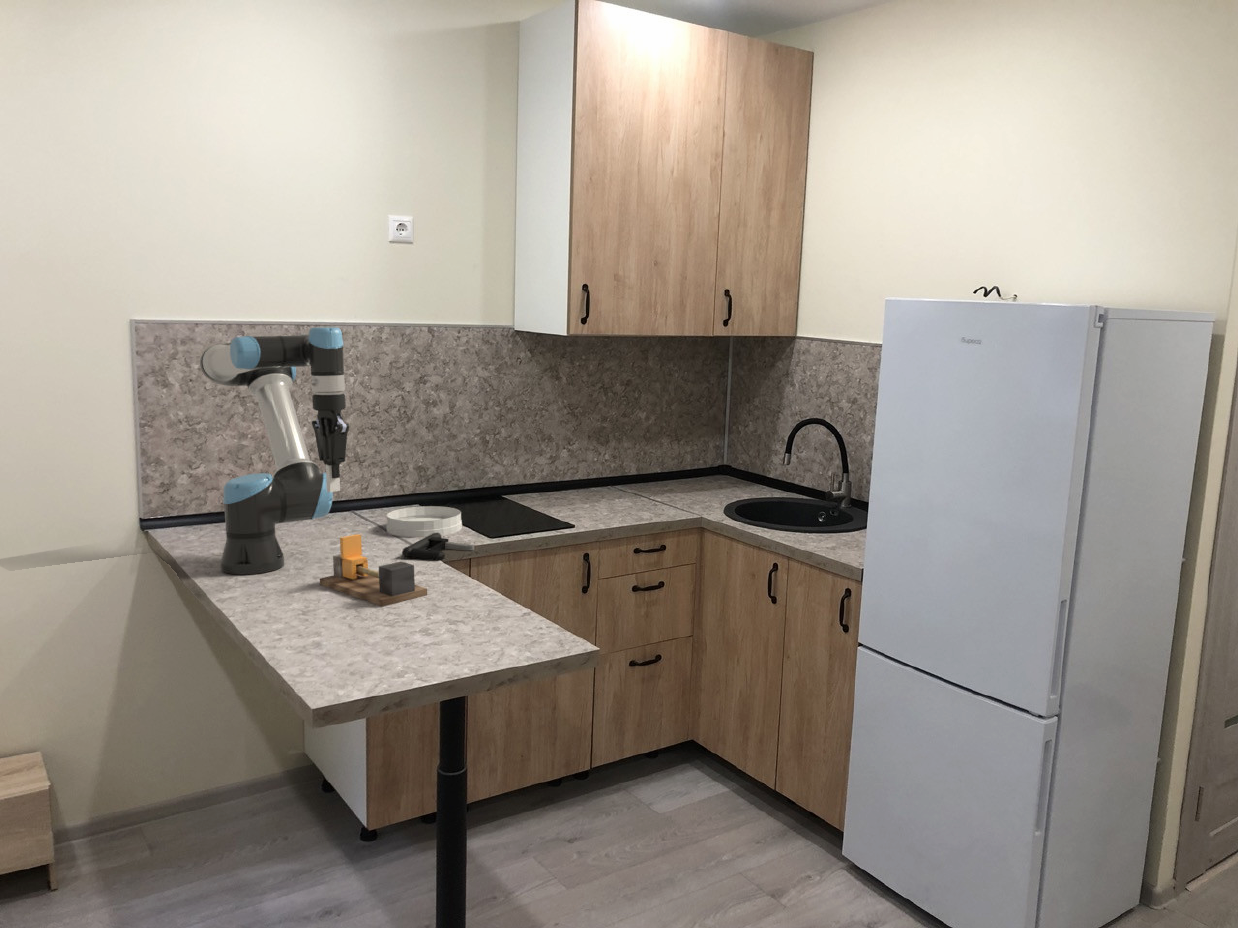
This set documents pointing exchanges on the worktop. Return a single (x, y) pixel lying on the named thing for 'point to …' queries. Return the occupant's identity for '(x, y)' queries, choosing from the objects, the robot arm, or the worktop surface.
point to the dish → (423, 521)
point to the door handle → (433, 548)
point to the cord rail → (376, 583)
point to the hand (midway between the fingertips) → (333, 491)
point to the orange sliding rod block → (352, 556)
